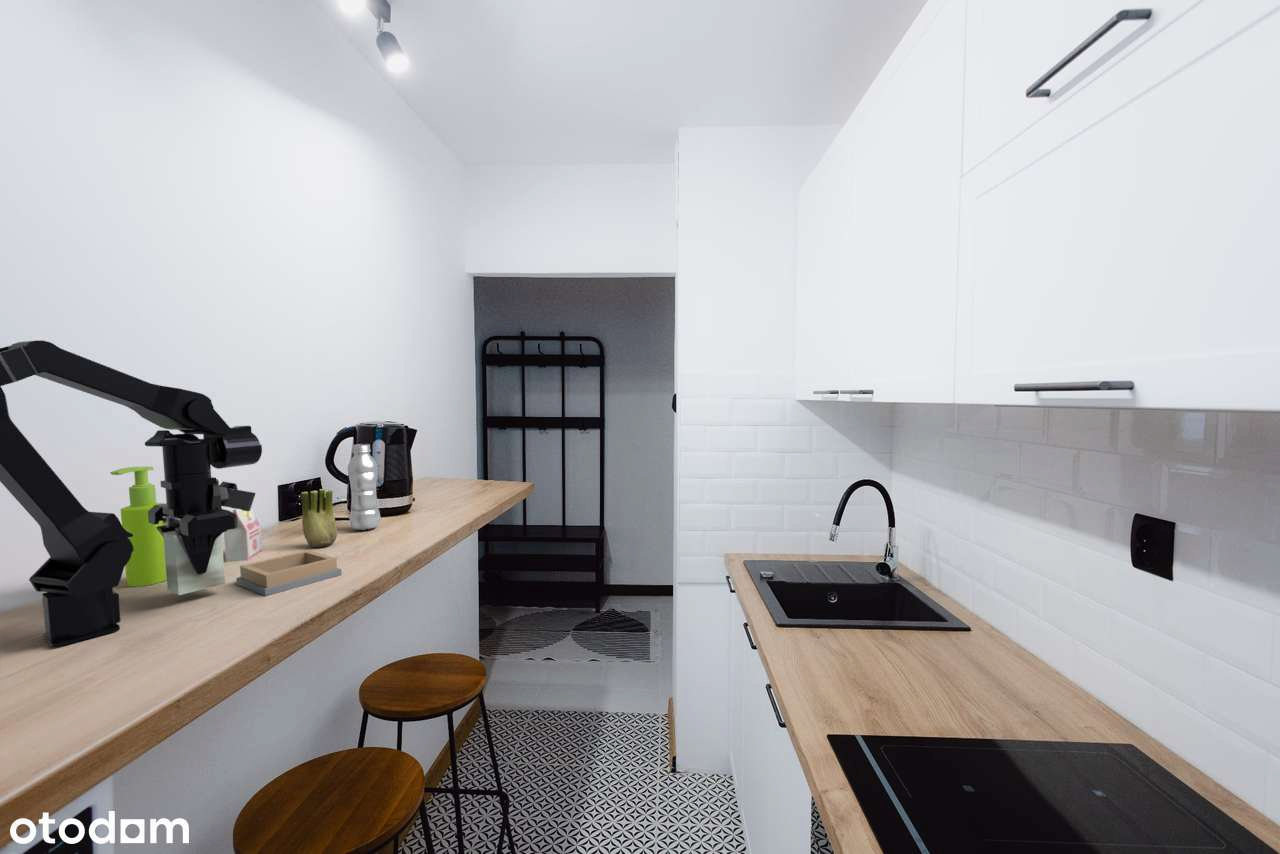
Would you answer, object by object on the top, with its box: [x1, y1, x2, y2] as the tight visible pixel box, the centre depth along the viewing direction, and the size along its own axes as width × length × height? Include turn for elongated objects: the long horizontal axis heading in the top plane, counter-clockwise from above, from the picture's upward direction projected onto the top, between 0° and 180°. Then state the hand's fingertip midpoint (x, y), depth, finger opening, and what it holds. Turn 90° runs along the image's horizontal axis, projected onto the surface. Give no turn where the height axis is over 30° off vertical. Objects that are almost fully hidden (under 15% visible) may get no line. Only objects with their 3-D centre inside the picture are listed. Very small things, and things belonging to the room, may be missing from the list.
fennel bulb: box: [300, 488, 338, 548], centre depth 119 cm, size 6×5×12 cm
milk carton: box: [223, 507, 263, 563], centre depth 112 cm, size 4×7×10 cm, turn 14°
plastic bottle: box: [347, 443, 381, 531], centre depth 133 cm, size 6×7×20 cm
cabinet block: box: [163, 527, 226, 596], centre depth 89 cm, size 6×5×10 cm
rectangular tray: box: [235, 549, 342, 597], centre depth 97 cm, size 12×11×3 cm
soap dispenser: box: [109, 466, 167, 587], centre depth 97 cm, size 6×7×20 cm
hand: (195, 570), depth 90 cm, fingers closed on cabinet block, 5 cm apart
